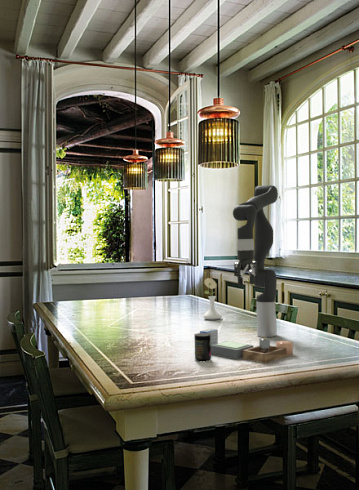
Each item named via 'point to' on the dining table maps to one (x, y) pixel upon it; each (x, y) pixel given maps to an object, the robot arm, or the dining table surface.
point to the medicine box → (212, 335)
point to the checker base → (229, 351)
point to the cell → (264, 345)
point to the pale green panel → (231, 345)
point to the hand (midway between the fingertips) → (246, 284)
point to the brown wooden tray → (264, 354)
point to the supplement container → (202, 346)
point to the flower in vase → (211, 301)
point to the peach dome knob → (286, 346)
